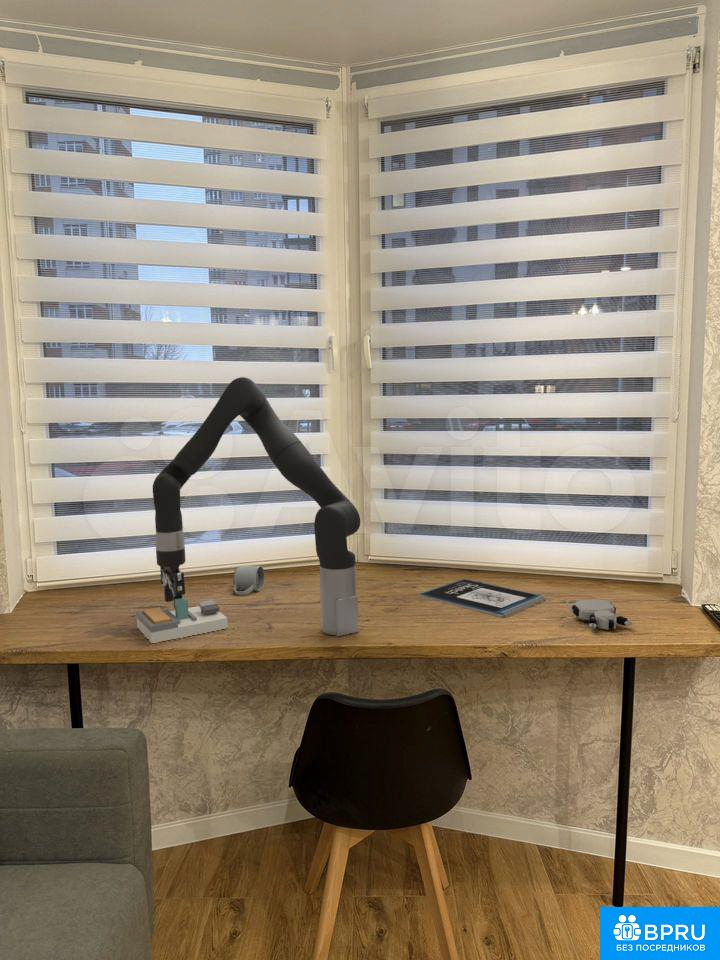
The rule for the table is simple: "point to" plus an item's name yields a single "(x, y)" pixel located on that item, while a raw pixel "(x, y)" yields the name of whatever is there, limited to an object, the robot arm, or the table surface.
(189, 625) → the switch panel
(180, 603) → the slide switch
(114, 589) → the table surface
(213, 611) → the rocker switch
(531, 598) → the sketchbook
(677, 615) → the table surface
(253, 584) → the ceramic mug
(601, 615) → the robot toy
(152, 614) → the paddle button
